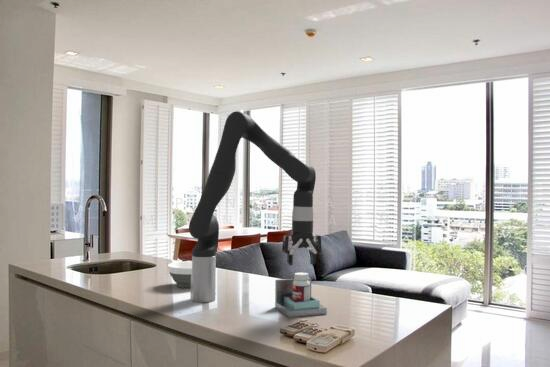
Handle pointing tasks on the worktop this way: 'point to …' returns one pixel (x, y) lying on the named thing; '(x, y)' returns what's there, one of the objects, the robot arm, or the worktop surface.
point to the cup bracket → (291, 307)
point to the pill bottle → (301, 287)
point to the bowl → (181, 273)
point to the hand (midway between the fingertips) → (301, 264)
